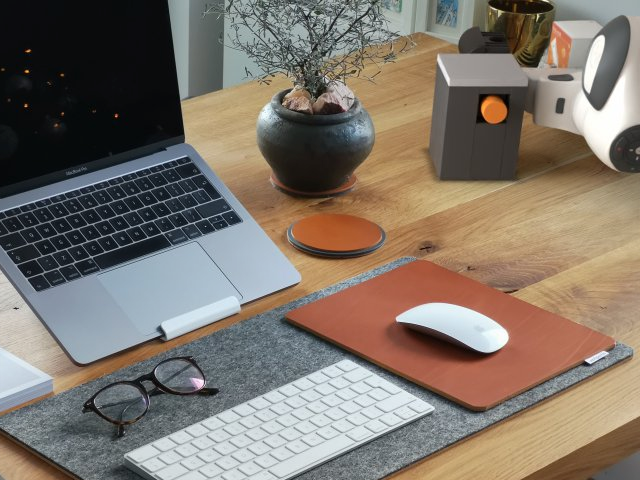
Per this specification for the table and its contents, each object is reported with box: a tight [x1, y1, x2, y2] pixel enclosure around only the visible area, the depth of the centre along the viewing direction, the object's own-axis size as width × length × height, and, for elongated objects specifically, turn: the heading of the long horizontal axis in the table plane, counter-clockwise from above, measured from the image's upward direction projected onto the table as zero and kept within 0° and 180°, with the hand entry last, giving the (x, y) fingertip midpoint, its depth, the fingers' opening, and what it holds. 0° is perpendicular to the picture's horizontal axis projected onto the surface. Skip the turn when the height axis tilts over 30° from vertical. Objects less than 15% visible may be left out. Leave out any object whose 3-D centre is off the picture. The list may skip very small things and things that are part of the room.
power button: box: [480, 94, 507, 124], centre depth 143 cm, size 3×3×3 cm
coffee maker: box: [428, 53, 529, 181], centre depth 148 cm, size 10×10×14 cm
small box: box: [546, 19, 604, 68], centre depth 157 cm, size 8×6×13 cm
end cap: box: [457, 25, 511, 54], centre depth 181 cm, size 10×7×7 cm
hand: (575, 68), depth 157 cm, fingers closed on small box, 6 cm apart
